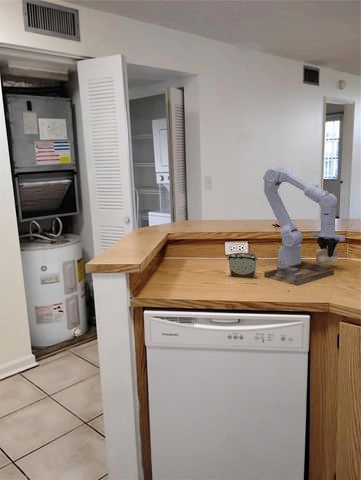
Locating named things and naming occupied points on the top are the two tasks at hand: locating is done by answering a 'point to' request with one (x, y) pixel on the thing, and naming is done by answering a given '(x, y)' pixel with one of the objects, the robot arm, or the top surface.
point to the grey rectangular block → (325, 256)
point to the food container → (242, 265)
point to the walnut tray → (304, 273)
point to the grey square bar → (288, 273)
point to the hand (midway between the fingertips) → (327, 256)
